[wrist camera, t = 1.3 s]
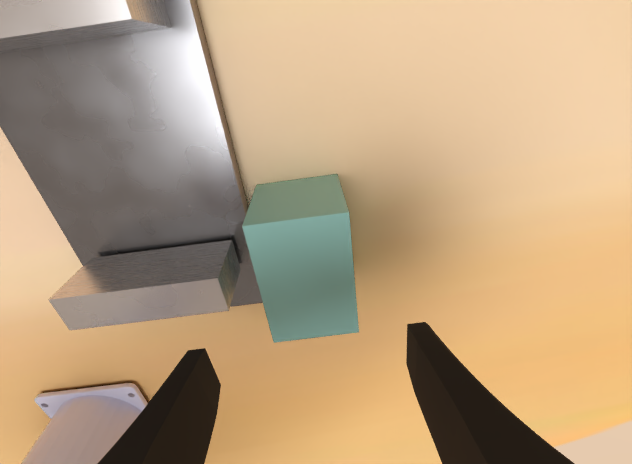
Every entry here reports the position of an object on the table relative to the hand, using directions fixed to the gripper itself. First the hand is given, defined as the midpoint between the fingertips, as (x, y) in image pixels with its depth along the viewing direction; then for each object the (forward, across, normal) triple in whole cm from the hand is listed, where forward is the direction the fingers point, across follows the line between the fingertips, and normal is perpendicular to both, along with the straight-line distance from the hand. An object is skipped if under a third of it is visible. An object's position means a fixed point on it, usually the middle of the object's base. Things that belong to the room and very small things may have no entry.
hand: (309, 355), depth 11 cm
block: (+9, 0, 0) cm, 9 cm away
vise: (+9, +8, -5) cm, 13 cm away
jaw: (+8, +8, 0) cm, 11 cm away
